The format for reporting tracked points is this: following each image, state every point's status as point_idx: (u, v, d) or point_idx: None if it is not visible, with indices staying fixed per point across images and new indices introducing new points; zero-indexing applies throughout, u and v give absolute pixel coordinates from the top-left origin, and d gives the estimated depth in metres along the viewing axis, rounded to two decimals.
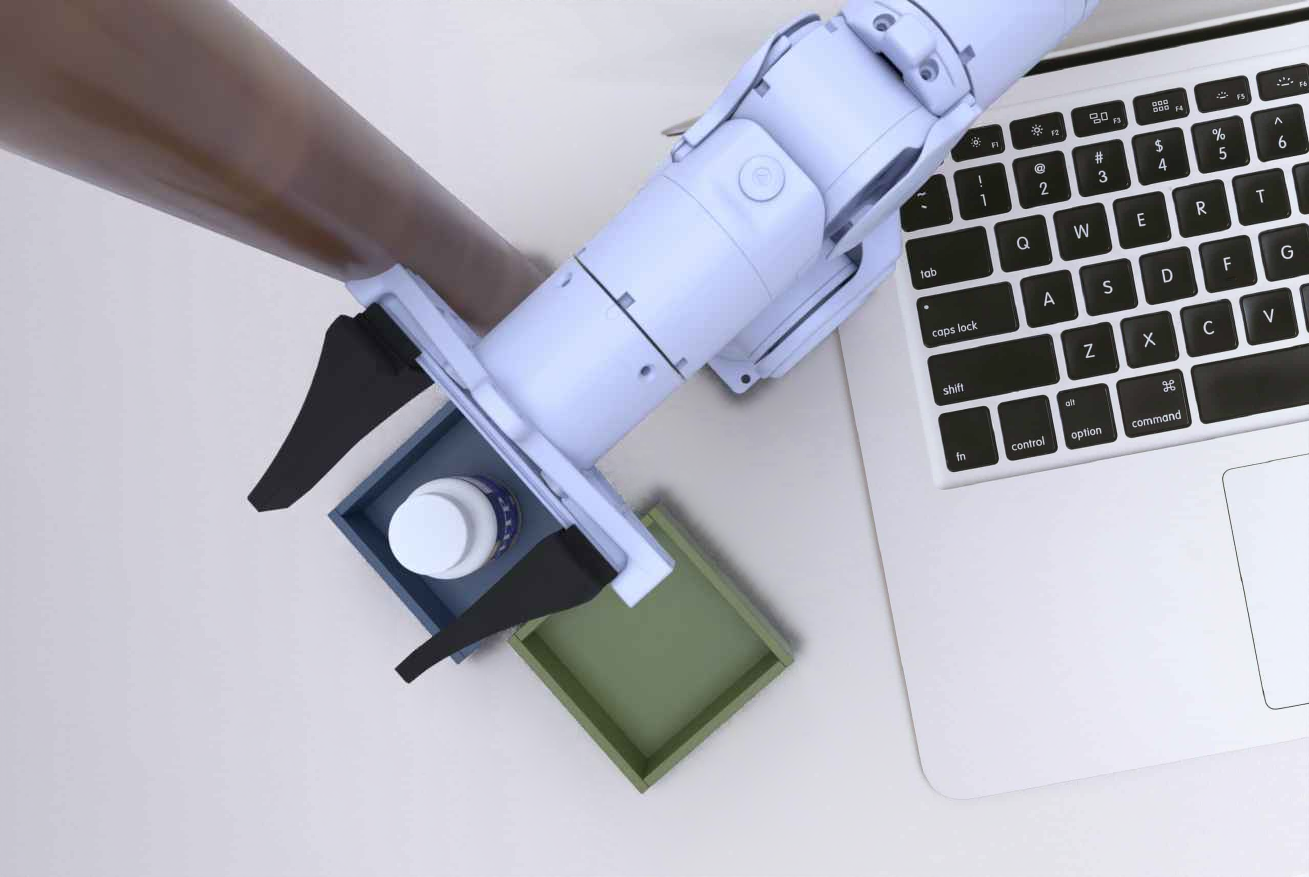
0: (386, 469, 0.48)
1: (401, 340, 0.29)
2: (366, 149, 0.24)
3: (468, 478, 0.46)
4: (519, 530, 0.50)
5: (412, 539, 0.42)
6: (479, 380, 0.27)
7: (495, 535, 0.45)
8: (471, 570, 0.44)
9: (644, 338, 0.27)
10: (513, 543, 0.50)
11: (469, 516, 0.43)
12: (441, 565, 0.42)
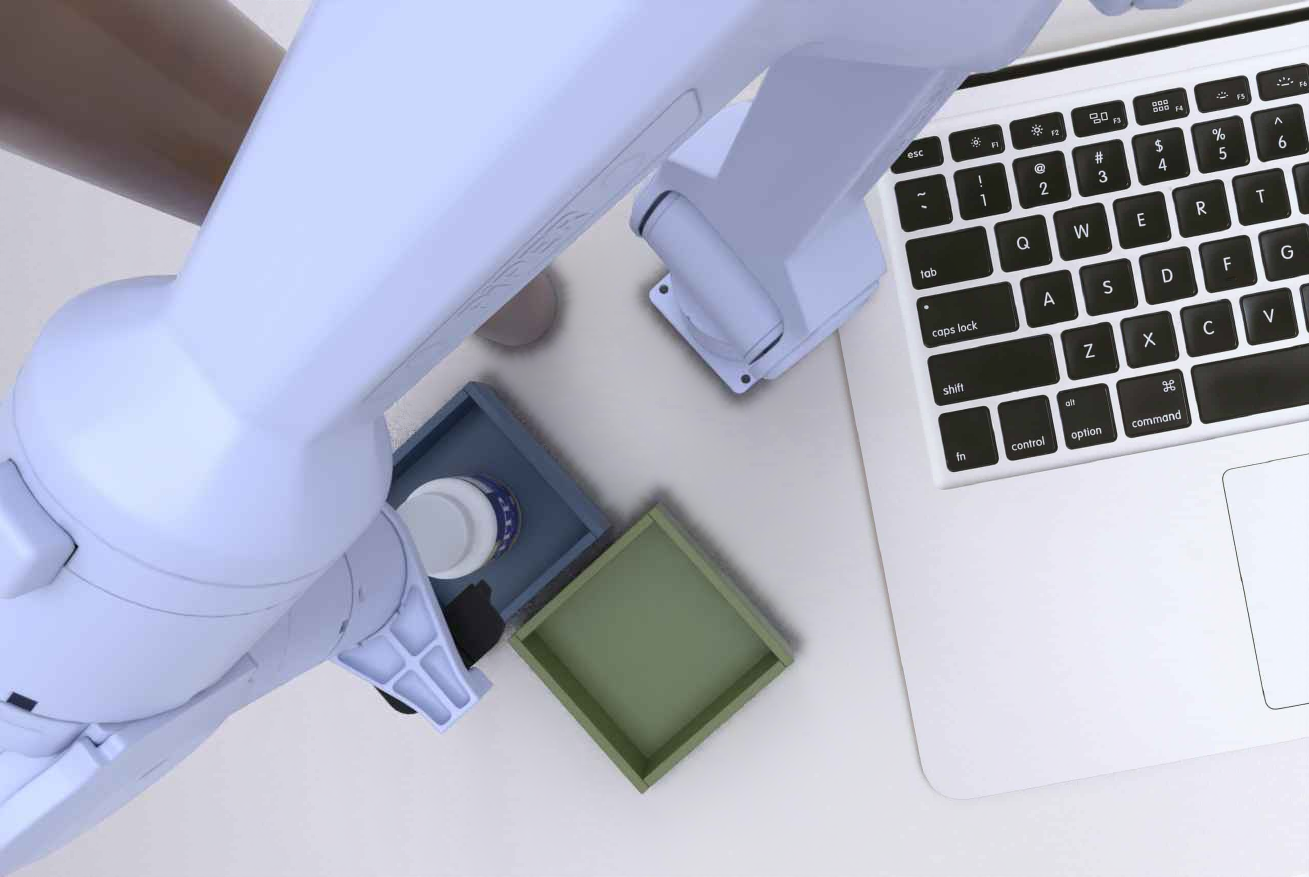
0: None
1: None
2: None
3: (468, 478, 0.46)
4: (519, 530, 0.50)
5: (413, 539, 0.42)
6: None
7: (495, 535, 0.45)
8: (471, 570, 0.44)
9: None
10: (513, 543, 0.50)
11: (469, 516, 0.43)
12: (441, 565, 0.42)
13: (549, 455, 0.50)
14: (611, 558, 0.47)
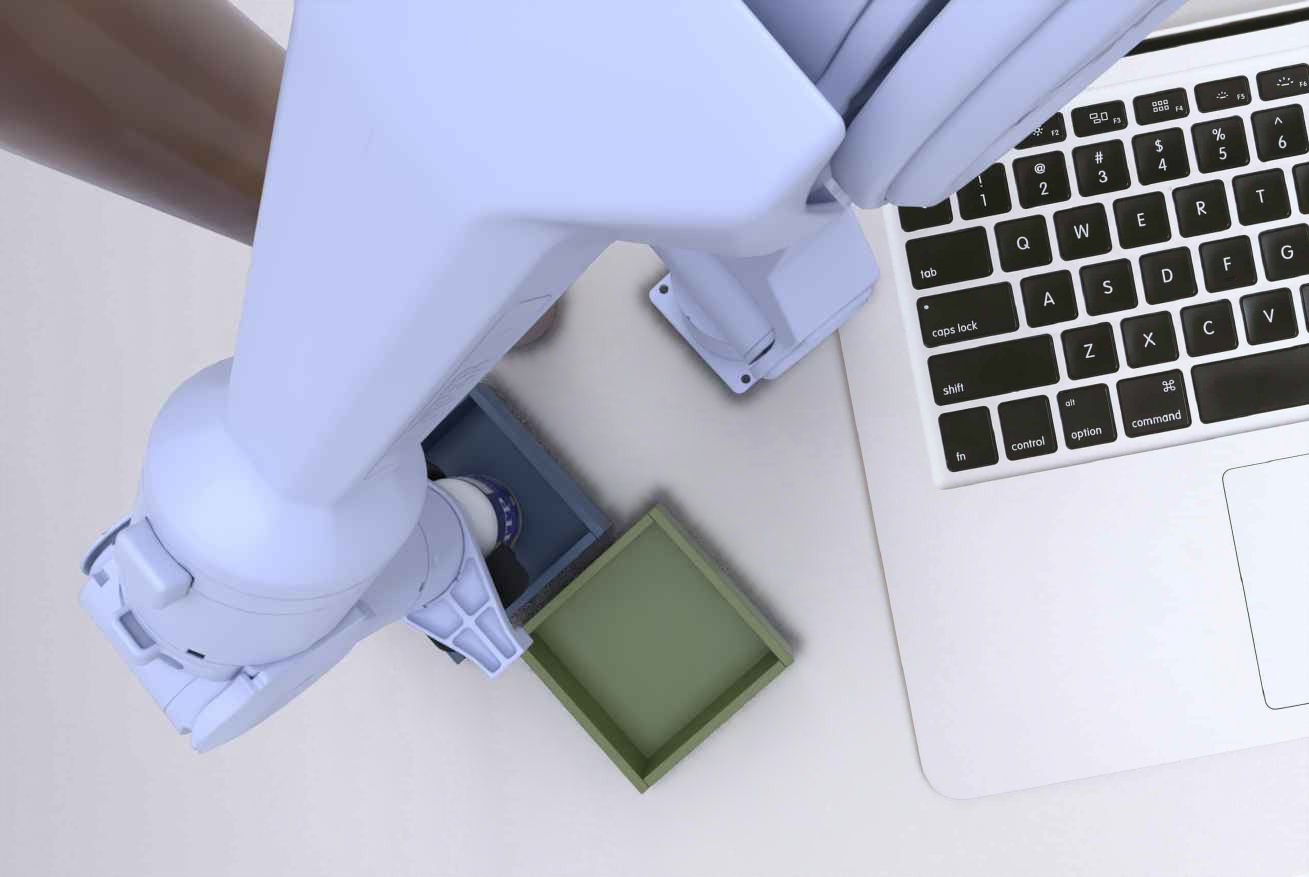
0: None
1: None
2: None
3: (469, 478, 0.46)
4: (519, 530, 0.50)
5: None
6: None
7: (496, 535, 0.45)
8: None
9: None
10: (514, 543, 0.50)
11: (470, 516, 0.43)
12: None
13: (549, 455, 0.50)
14: (611, 558, 0.47)
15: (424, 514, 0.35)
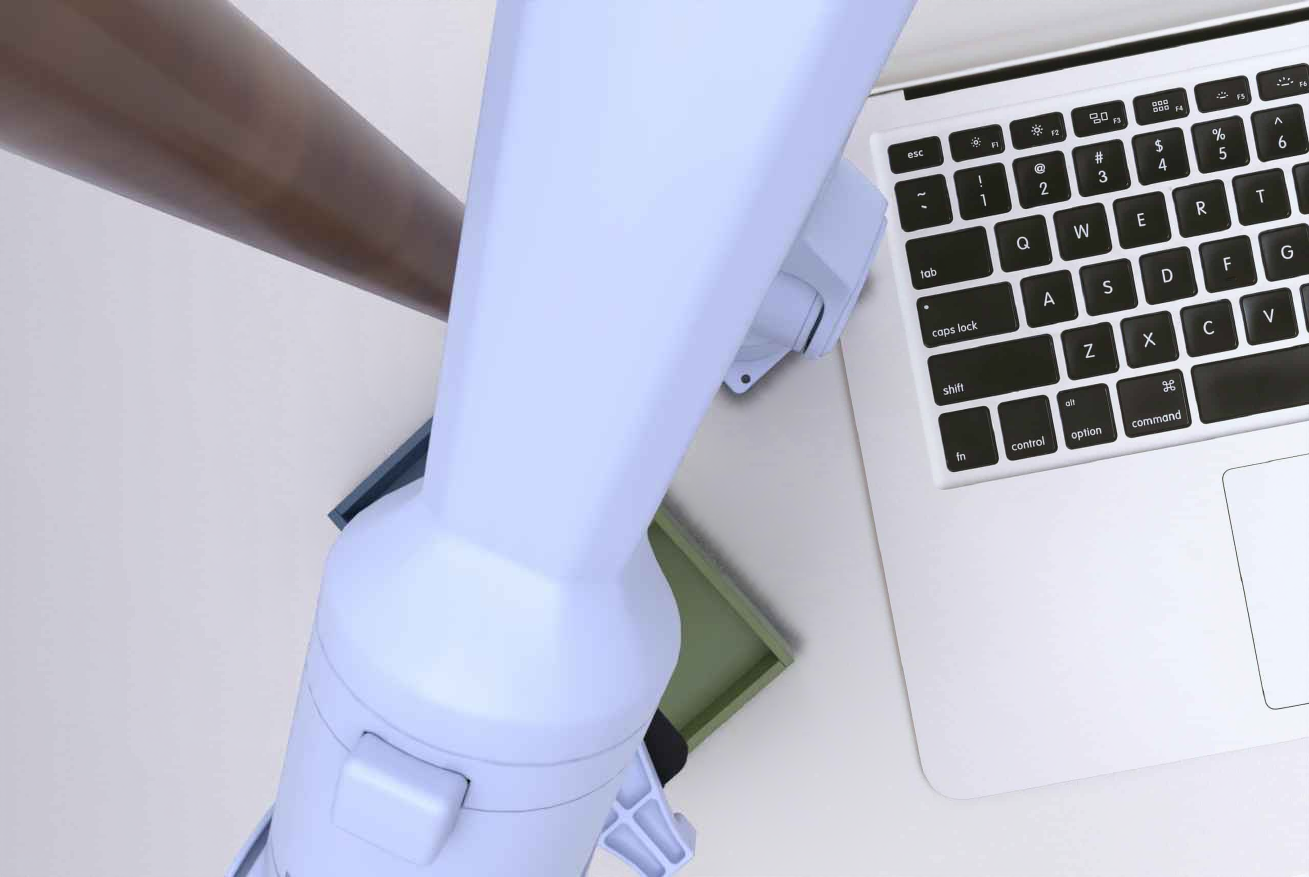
0: (386, 469, 0.48)
1: None
2: (366, 149, 0.24)
3: None
4: None
5: None
6: None
7: None
8: None
9: None
10: None
11: None
12: None
13: None
14: None
15: None
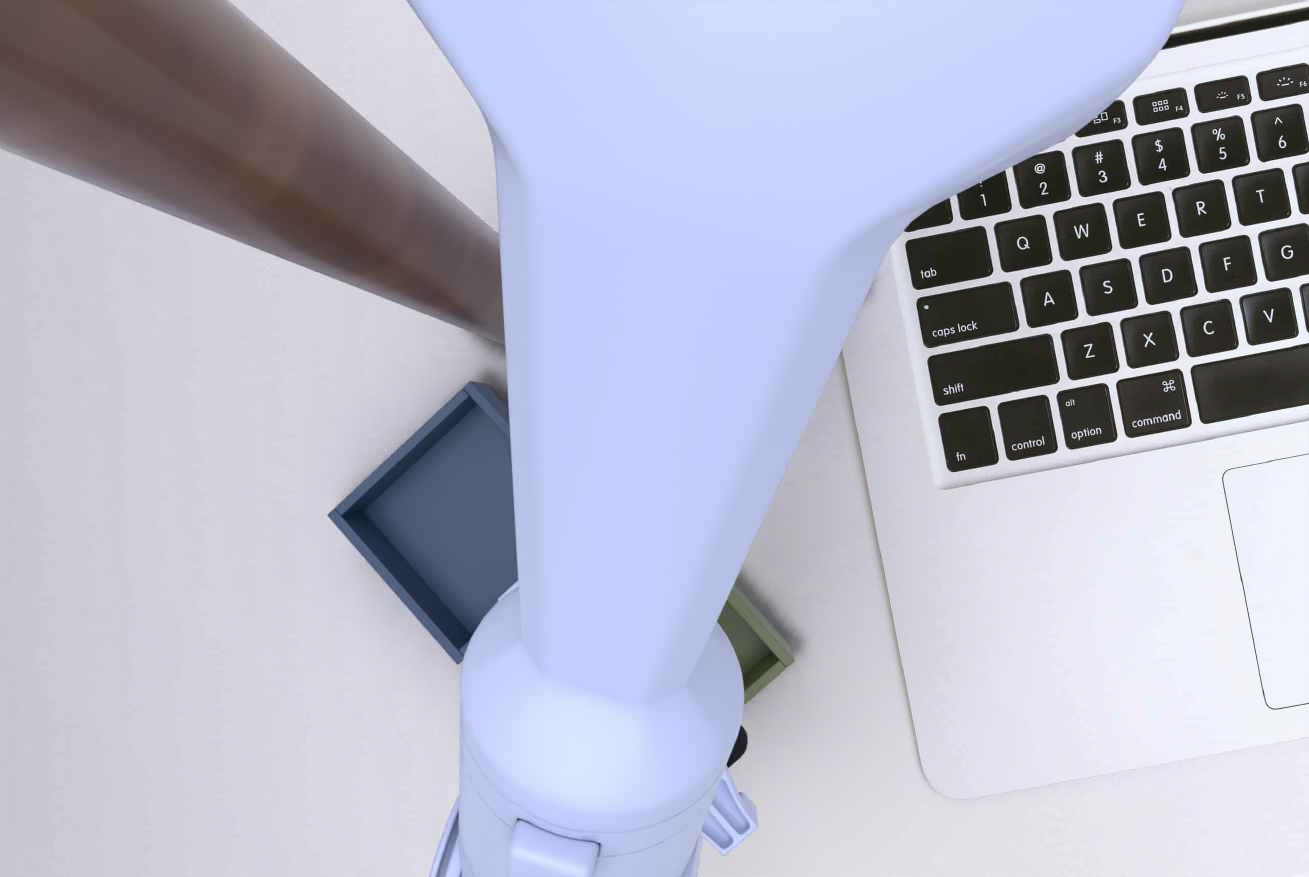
0: (386, 469, 0.48)
1: None
2: (366, 149, 0.24)
3: None
4: None
5: None
6: None
7: None
8: None
9: None
10: None
11: None
12: None
13: None
14: None
15: None
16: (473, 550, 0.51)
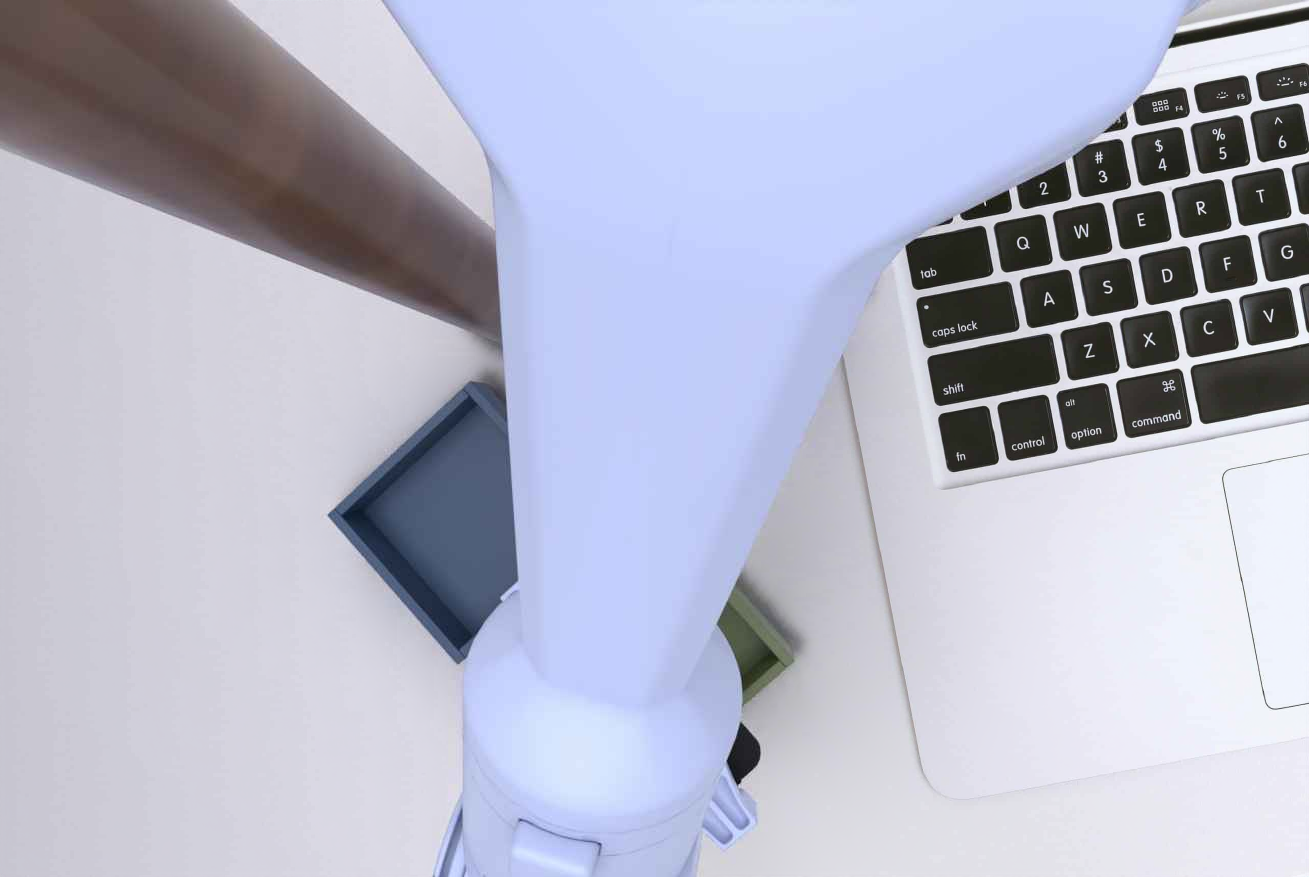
0: (386, 469, 0.48)
1: None
2: (366, 149, 0.24)
3: None
4: None
5: None
6: None
7: None
8: None
9: None
10: None
11: None
12: None
13: None
14: None
15: None
16: (473, 550, 0.51)
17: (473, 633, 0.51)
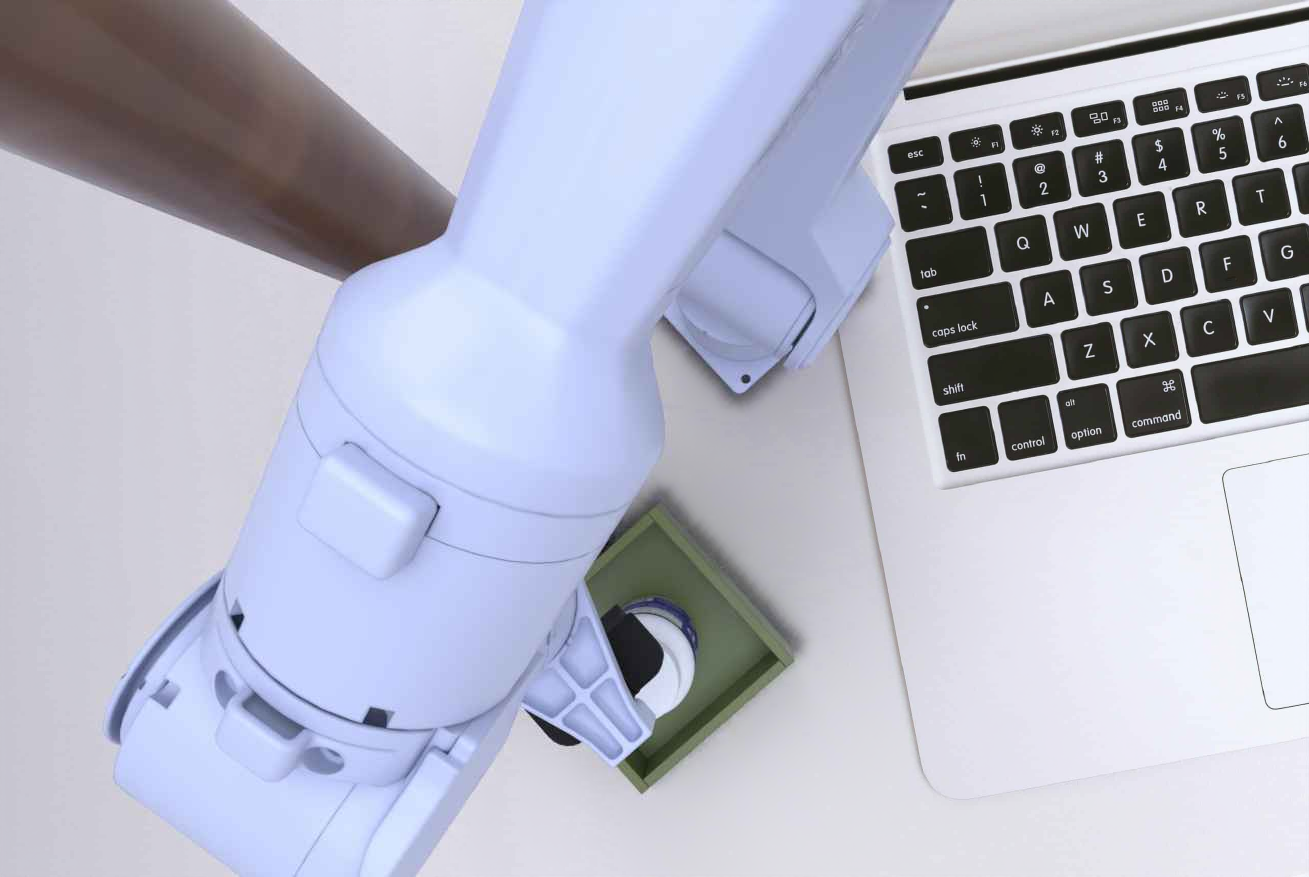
0: None
1: None
2: (366, 149, 0.24)
3: (658, 610, 0.45)
4: None
5: None
6: None
7: (693, 673, 0.44)
8: (670, 709, 0.43)
9: None
10: None
11: (676, 660, 0.42)
12: None
13: None
14: (611, 558, 0.47)
15: None
16: None
17: None
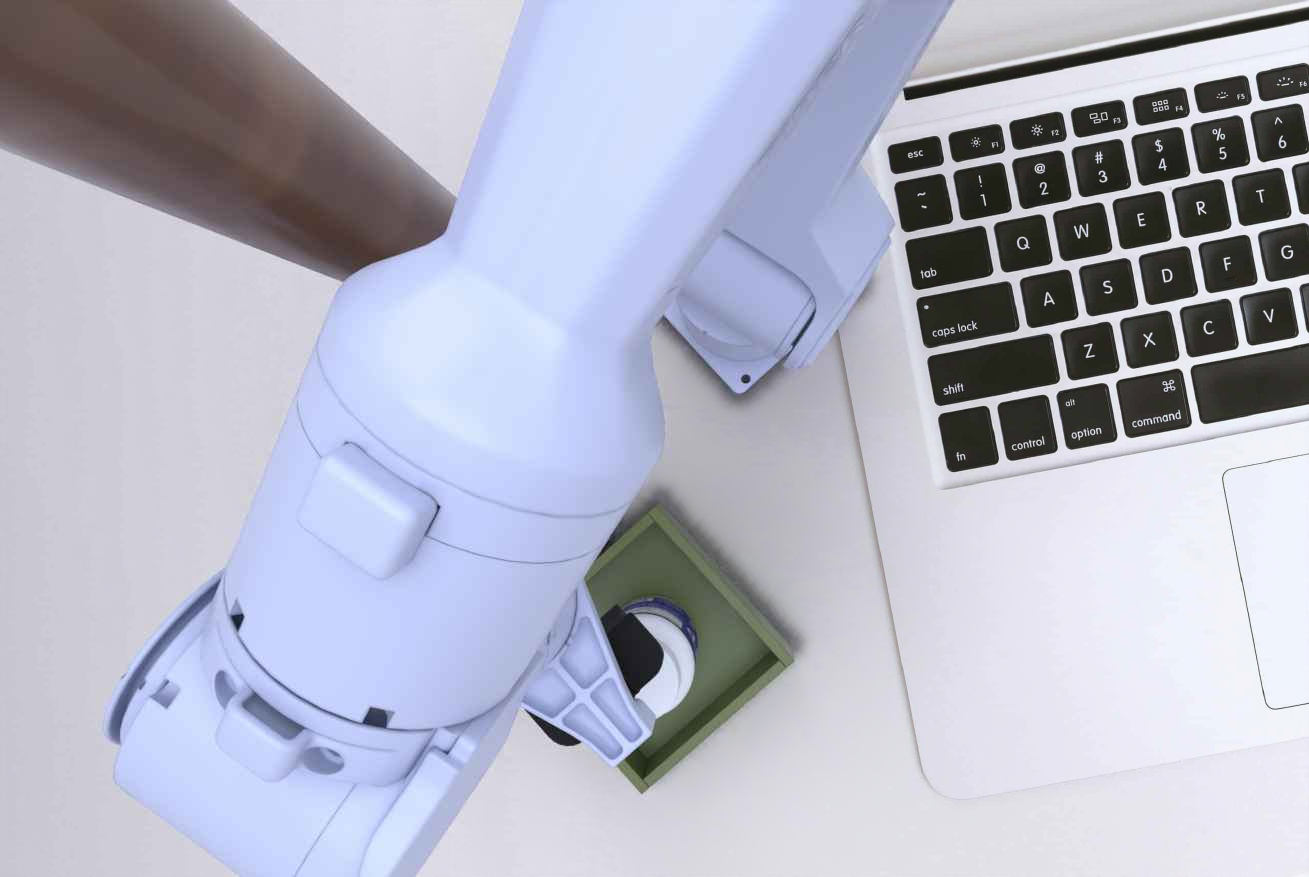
0: None
1: None
2: (366, 149, 0.24)
3: (658, 610, 0.45)
4: None
5: None
6: None
7: (693, 673, 0.44)
8: (670, 709, 0.43)
9: None
10: None
11: (676, 660, 0.42)
12: None
13: None
14: (611, 558, 0.47)
15: None
16: None
17: None
